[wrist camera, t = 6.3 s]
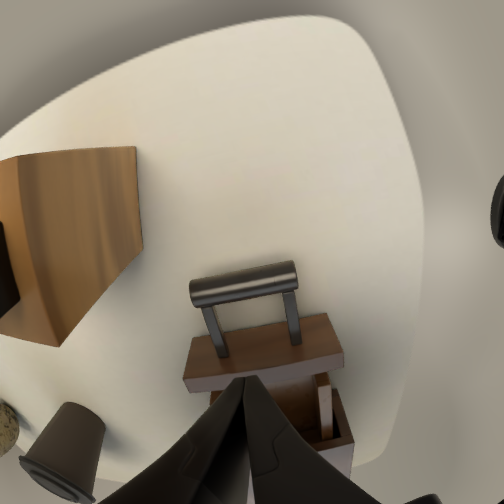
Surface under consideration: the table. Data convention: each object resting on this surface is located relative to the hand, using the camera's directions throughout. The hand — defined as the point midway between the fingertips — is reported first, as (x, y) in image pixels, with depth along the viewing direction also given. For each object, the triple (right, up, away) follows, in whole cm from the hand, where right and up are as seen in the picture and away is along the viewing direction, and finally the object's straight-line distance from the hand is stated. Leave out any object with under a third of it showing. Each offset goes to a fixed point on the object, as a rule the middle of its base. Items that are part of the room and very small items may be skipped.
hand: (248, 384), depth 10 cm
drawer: (+1, -3, +9) cm, 9 cm away
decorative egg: (-33, -17, +14) cm, 40 cm away
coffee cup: (-18, -13, +13) cm, 25 cm away
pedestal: (-9, +8, +6) cm, 13 cm away
